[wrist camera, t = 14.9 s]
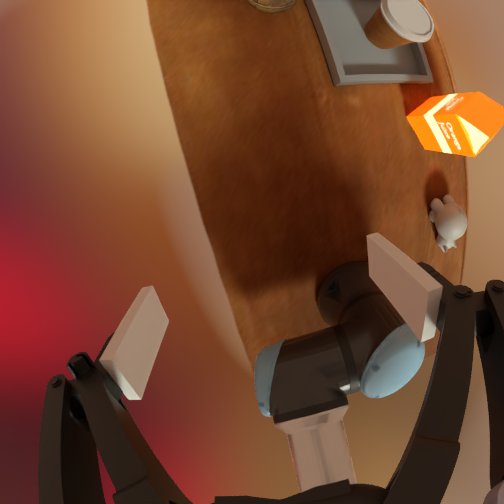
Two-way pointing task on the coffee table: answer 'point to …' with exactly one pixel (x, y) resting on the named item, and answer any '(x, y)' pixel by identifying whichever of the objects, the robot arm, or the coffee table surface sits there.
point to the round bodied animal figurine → (448, 221)
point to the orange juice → (457, 122)
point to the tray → (363, 47)
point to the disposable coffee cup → (399, 24)
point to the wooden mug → (272, 5)
